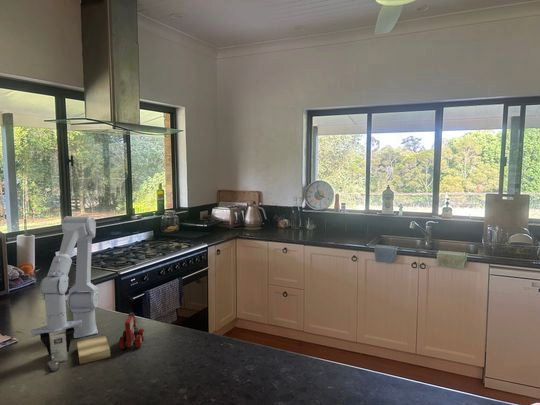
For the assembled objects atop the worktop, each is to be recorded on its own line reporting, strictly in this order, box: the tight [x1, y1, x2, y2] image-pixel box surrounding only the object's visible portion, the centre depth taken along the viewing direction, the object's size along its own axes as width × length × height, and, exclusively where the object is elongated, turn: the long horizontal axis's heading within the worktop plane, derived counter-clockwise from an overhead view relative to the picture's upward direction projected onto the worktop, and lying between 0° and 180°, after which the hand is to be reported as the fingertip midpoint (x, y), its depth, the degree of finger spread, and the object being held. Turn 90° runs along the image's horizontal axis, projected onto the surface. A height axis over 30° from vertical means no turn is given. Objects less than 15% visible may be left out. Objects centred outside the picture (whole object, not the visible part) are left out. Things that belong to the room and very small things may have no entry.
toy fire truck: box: [118, 312, 145, 350], centre depth 134 cm, size 7×12×10 cm, turn 10°
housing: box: [49, 332, 68, 363], centre depth 126 cm, size 8×4×7 cm, turn 30°
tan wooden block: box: [76, 335, 111, 365], centre depth 128 cm, size 12×9×2 cm
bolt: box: [46, 360, 61, 372], centre depth 119 cm, size 5×2×2 cm, turn 50°
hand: (59, 352), depth 126 cm, fingers closed on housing, 4 cm apart
